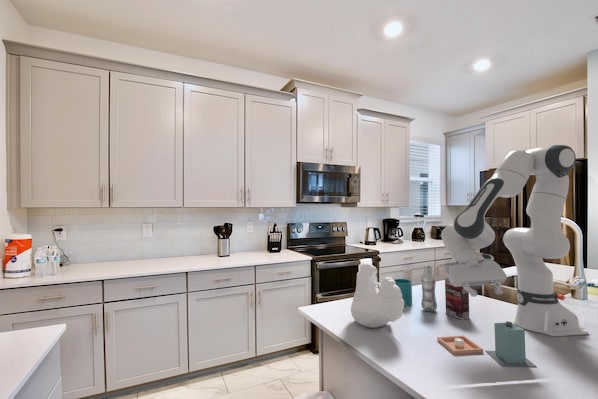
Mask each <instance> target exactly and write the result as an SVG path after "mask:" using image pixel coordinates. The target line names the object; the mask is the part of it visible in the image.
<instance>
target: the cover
mask: <svg viewBox="0 0 598 399" xmlns="http://www.w3.org/2000/svg"><path fill="white" fill-rule="evenodd" d="M525 332H526V329H525V328H522V327H520V326H518V325H516V324H515V323H513V322H511V321H505V322H495V323H494V346H495V347H494V351H495V354H496V355H497V356H499V357H500V358H502V359H503V360H505V361H506V362H507V363H524V362H526V358H527V357H526V356H527V355H526V333H525Z"/></svg>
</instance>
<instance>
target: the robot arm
mask: <svg viewBox="0 0 598 399" xmlns="http://www.w3.org/2000/svg"><path fill="white" fill-rule="evenodd" d="M576 158H577V157H576V153H575V151H574V150H573V148H572V147H571V146H569V145H565V144H555V145H554V144H553V145H546V146H538V147H534V148H531V149H524V150H519V149H518V150H517V149H516V150H513V151H510V152H509V153H508V154H507V155H506V156H505V157H504V158H503V160H501V162H500V163H499V165H498V166H497V167H496V169H495V171H494V173H493V175H491V177H490V178H489V179H488V180H486V181H485V182H483V184H482V186H481V187H480V188H479V190H478V191H477V193H476V194H475V195H474V197H473V198H472V200H470V202H469V203H468V205H467V206H466V207H464V208H465V209H463V210H462V211H460V213H459V214H457V215H456V217H455V218H454V221H453V223H452V224H449V225H447V226H445V227H444V228H443V229H442V231H441V235H440V236H441V240H442V242H443V245H444V247H445V249H446V251H447V252H448V253H449V254H450V256H451V259H452V261H453V262H445V263H444V264H443V269H444V271H445V273H446V275H447V278H448V279H449V281H450V283H451V285H453V286H454V287H460V286H463V288H464V289H465V290H466V291H467V292H469V296H471V297H472V298H473V297H477V296H478V292H477V290H476V289H473V288H471V287H472V286H473V287H474V286H486V285H487V286H488V285H493V287H495V290H494V293H495V295H496V296H501V295H502V294H503V293H504V292H503V290H502V285H501V284H503V283H504V282H506V280H507V278H508V277H507V274H506V272H505V271H504V269H503V268H502V267H501V266H500V264H499V263H497V262H496V261H494V260H495V258H494V256H493V255H491V254H487V253H484V252H483V253H482V252H479V251H478V250H481V249H484V248H488V247H489V246H491V245H492V244H493V243H494V241H495V239H496V233H495V230H494V229H493V228H492V227H491V226H490V225H489V223H488V222H487V221H486V217H485V216H486V213H487V212H488V210H489V209H490V208H491V207H492V204H493V203H494V202H495V201H496V199H497V198H499V197H500V198H504V199H505V198H512V197H516V196H518V195H519V194H520V193H521V192H522V190H523V189H524V187H525V185H526V184H527V182H528V180H529V178H530V176H535V183H534V185H533V188H532V190H531V193H530V196H529V199H528V202H527V206H526V209H525V211H526V215H528V216H529V218H530V227H514V228H510V229H508V230H506V232H505V233H504V235H503V238H502V241H503V244H504V245H505V248H507V249H508V250H509V252H510V254H511V256H512V258H513V260H514V263H515V268H516V272H517V288H516V299H517V308H516V309H517V310H516V315H515V318H514V324H515V325H517V326H519V327H521V328H523V329H525V330H528V331H531V332H536V333H541V334H545V335H548V336H550V337H564V336H565V337H566V336H582V335H589V332H588V330H587V329H586V328H585V327H583V326H582V325H581V324H580V322H579V318H578V316H577V315H576V313H575V312H573V311H572V310H570V309H569V308H567V307H566V306H565V305H563V304H562V303H560V301H565V300H566V296H565V295H563V294H561V293H558V294H557V293H556V292H555V291H554V275H553V272H552V271H551V269H550V268H549V267H548V266H547V265H546V263H545V261H544V260H543V259H546V260H554V259H555V260H556V259H557V260H558V259H562V258H565V257H566V256H567V255H568V254H569V252H570V250H571V244H570V240H569V238H568V237H567V236H566V235H565V233H564V232H563V229H562V222H561V221H562V216H563V211H564V207H565V205H566V204H565V203H566V200H567V197H568V194H569V188H570V177H569V173H571V171H572V169H573V168H574V166H575V163H576ZM559 300H560V301H559Z"/></svg>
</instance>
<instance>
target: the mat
mask: <svg viewBox="0 0 598 399" xmlns="http://www.w3.org/2000/svg"><path fill="white" fill-rule="evenodd" d="M485 353H486V354H487V355H489V356H490V357H491V358H492V359H493V360H494V361H495V362H496V363H497V364H498V365H499V366H500V367H508V368H509V367H515V368H517V367H518V368H538V366H537V365H536V364H534V363H533V362H532V361H531V360H529V359H528V358H527V357H526V362H524V363H507V362H506V361H505V360H503V359H502V358H500V357H499V356H497V355H496V354H495V350H485Z"/></svg>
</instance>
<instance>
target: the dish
mask: <svg viewBox="0 0 598 399" xmlns="http://www.w3.org/2000/svg"><path fill="white" fill-rule="evenodd" d="M436 340H437V342H438V343H439V344H441V345H442V346H443V347H445V348H446V349H447V350H448V351H449V352H450V353H452V354H453V355H455V356H457V355H472V354H483V353H484V348H482V347H481V346H479V345H478V344H477V343H475V342H474V341H472V340H471V339H469V338H468V337H466V336H465V335H452V336H450V335H449V336H437V339H436Z"/></svg>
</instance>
